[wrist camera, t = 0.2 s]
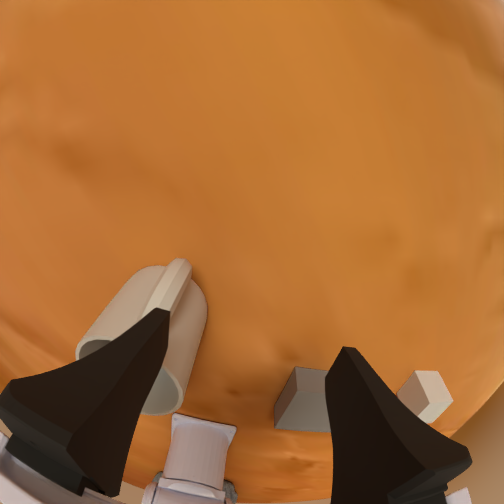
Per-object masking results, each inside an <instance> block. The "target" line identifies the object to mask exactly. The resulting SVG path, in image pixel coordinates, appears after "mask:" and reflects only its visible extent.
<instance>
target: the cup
mask: <svg viewBox="0 0 504 504" xmlns="http://www.w3.org/2000/svg"><path fill="white" fill-rule="evenodd" d="M191 276H192V265H191V264H190V263H189V262H188V260H187V259H183V258H175V259H174V260H173V261H172V262H171V263H169V264H168V265H167V266H159V265H157V266H148V267H145V268H143V269H141V270H139V271H137V272H136V273H135V274H134V275H133V276H132V277H131V278H130V279H129V280H128V281H127V282H126V283H125V285H124V286H123V287H122V288H121V289H120V291H119V292H118V293H117V294H116V295H115V297H114V298H113V299H112V300H111V302H110V303H109V304H108V305H107V307H106V308H105V309H104V310H103V312H102V313H101V314H100V316H99V317H98V318H97V319H96V321H95V322H94V323H93V325H92V326H91V327H90V329H89V330H88V331H87V333H86V334H85V335H84V337H83V338H82V339H81V341H80V342H79V343H78V345H77V348H76V351H75V353H76V361H77V360H79V359H81V358H83V357H85V356H87V355H89V354H91V353H93V352H95V351H96V350H98V349H100V348H101V347H103V346H105V345H106V344H108V343H109V342H111V341H112V340H114V339H115V338H117V337H118V336H120V335H121V334H122V333H124V332H125V331H126V330H128V329H129V328H130V327H132V326H133V325H134V324H136V323H137V322H138V321H139V320H141V319H142V318H143V317H144V316H146V315H147V314H148V313H149V312H150V311H151V310H153V309H154V308H156V307H157V308H161V309H164V310H168V311H171V312H170V325H169V340H168V349H167V352H166V355H165V358H164V361H163V364H162V367H161V369H160V372H159V374H158V376H157V378H156V380H155V382H154V384H153V386H152V389H151V391H150V393H149V395H148V397H147V399H146V401H145V404H144V406H143V408H142V410H141V413H140V414H145V415H153V416H157V415H167V414H170V413H173V412H175V411H176V410H177V409H178V408H180V407H181V404H182V402H183V399H184V396H185V392H186V389H187V385H188V382H189V378H190V375H191V371H192V368H193V364H194V361H195V358H196V354H197V351H198V347H199V344H200V341H201V337H202V334H203V330H204V327H205V324H206V320H207V310H208V306H207V303H206V299H205V296H204V294H203V293H202V291H201V289H200V287H199V286H198V285H197V284H196V283H195V282H194V281H193V280H192V279H191Z"/></svg>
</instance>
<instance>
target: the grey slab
mask: <svg viewBox="0 0 504 504" xmlns="http://www.w3.org/2000/svg"><path fill="white" fill-rule="evenodd" d="M328 372H329V371H324V370H316V369H308V368H301V367H295V368H294V370H293V372H292V374H291V376H290V378H289V380H288V382H287V384H286V386H285V387H284V389H283V391H282V393H281V395H280V397H279V399H278V400H277V402H276V404H275V406H274V428H276V429H285V430H297V431H312V432H331V429H330V423H329V417H328V411H327V405H326V399H325V376H326V375H327V373H328Z"/></svg>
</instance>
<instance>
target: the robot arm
mask: <svg viewBox="0 0 504 504" xmlns="http://www.w3.org/2000/svg"><path fill="white" fill-rule="evenodd" d="M170 312H171V311H168V310H164V309H161V308H157V307H156V308H154V309H153V310H151V311H150V312H149V313H148V314H147V315H146V316H144V317H143V318H142V319H141V320H139V321H138V322H137V323H136V324H134V325H133V326H132V327H130V328H129V329H128V330H126V331H125V332H124V333H122V334H121V335H120V336H118V337H117V338H115V339H114V340H112V341H111V342H109V343H108V344H106V345H105V346H103V347H101V348H100V349H98V350H96V351H95V352H93V353H91V354H89V355H87V356H85V357H83V358H81V359H79V360H77V361H75V362H73V363H70V364H68V365H66V366H63V367H61V368H58V369H55V370H52V371H49V372H45V373H42V374H38V375H34V376H29V377H24V378H19V379H13V380H11V381H10V382H9V383H8V385H7V386H6V387H5V389H4V390H3V391H2V393H1V394H0V419H1V420H2V421H3V422H4V424H5V425H6V426H7V427H8V429H9V430H10V431H11V432H12V433H13V434H12V436H11V437H10V439H9V438H8V437H7V436H6V435H5V434H4V433H3V432H1V431H0V501H1V502H2V503H3V504H125V503H122V502H119V501H117V500H114V499H111V497H115V496H118V495H119V492H120V487H121V482H122V477H123V472H124V468H125V464H126V460H127V456H128V452H129V448H130V445H131V441H132V438H133V434H134V431H135V428H136V425H137V421H138V418H139V415H140V413H141V410H142V408H143V406H144V404H145V401H146V399H147V397H148V395H149V393H150V391H151V389H152V386H153V384H154V382H155V380H156V378H157V376H158V374H159V372H160V369H161V367H162V364H163V361H164V358H165V355H166V352H167V349H168V340H169V325H170ZM325 399H326V405H327V411H328V417H329V423H330V429H331V436H332V443H333V485H332V495H331V504H472V502H471V499H470V495H469V492H468V489H467V487H464V488H462V489H460V490H458V491H455V492H453V493H451V494H449V495H447V496H445V494H444V491H446V490H447V489H448V486H447V483H448V482H449V481H451V480H452V479H454V478H455V477H457V476H458V475H459V474H461V473H462V472H464V471H465V470H466V469H467V468H468V467H470V465H471V464H472V459H471V456H470V453H469V451H468V448H467V447H466V446H463V445H461V444H459V443H457V442H455V441H453V440H451V439H449V438H448V437H446V436H444V435H443V434H441V433H439V432H438V431H436V430H435V429H433V428H432V427H430V426H429V425H428V424H426V423H425V422H424V421H422V420H421V419H420V418H419V417H417V416H416V415H415V414H414V413H413V412H412V411H411V410H410V409H409V408H407V407H406V406H405V405H404V404H403V403H402V402H401V401H400V400H399V399H398V398H397V397H396V395H395V394H394V393H393V392H392V391H391V390H390V389H389V388H388V387H387V385H386V384H385V383H384V382H383V381H382V379H381V378H380V377H379V376H378V375H377V373H376V372H375V371H374V370H373V368H372V367H371V366H370V365H369V363H368V362H367V361H366V360H365V358H364V357H363V356H362V355H361V354H360V352H359V351H358V350H357V349H356V348H352V347H344V346H343V347H342V349H341V351H340V353H339V354H338V356H337V358H336V360H335V361H334V363H333V365H332V366H331V368H330V370H329V372H328V373H327V375H326V376H325ZM236 429H237V428H236V427H235V426H230V425H225V424H220V423H215V422H210V421H206V420H201V419H197V418H193V417H188V416H185V415H181V414H177V413H174V414H173V415H172V432H171V444H170V448H169V452H168V455H167V459H166V463H165V467H164V471H163V475H162V478H161V477H160V479H159V483H157V482H152V483H150V484H148V485H147V487H146V489H145V492H144V496H143V499H142V503H141V504H233V503H232V502H231V500H230V499H229V498H225V492H224V491H222V489H223V480H224V472H225V464H226V456H227V450H228V448H229V445H230V443H231V441H232V439H233V437H234V435H235V432H236ZM99 493H100V494H99ZM102 494H103V495H102ZM104 495H105V496H104ZM107 496H108V497H107ZM109 497H110V498H109Z"/></svg>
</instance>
